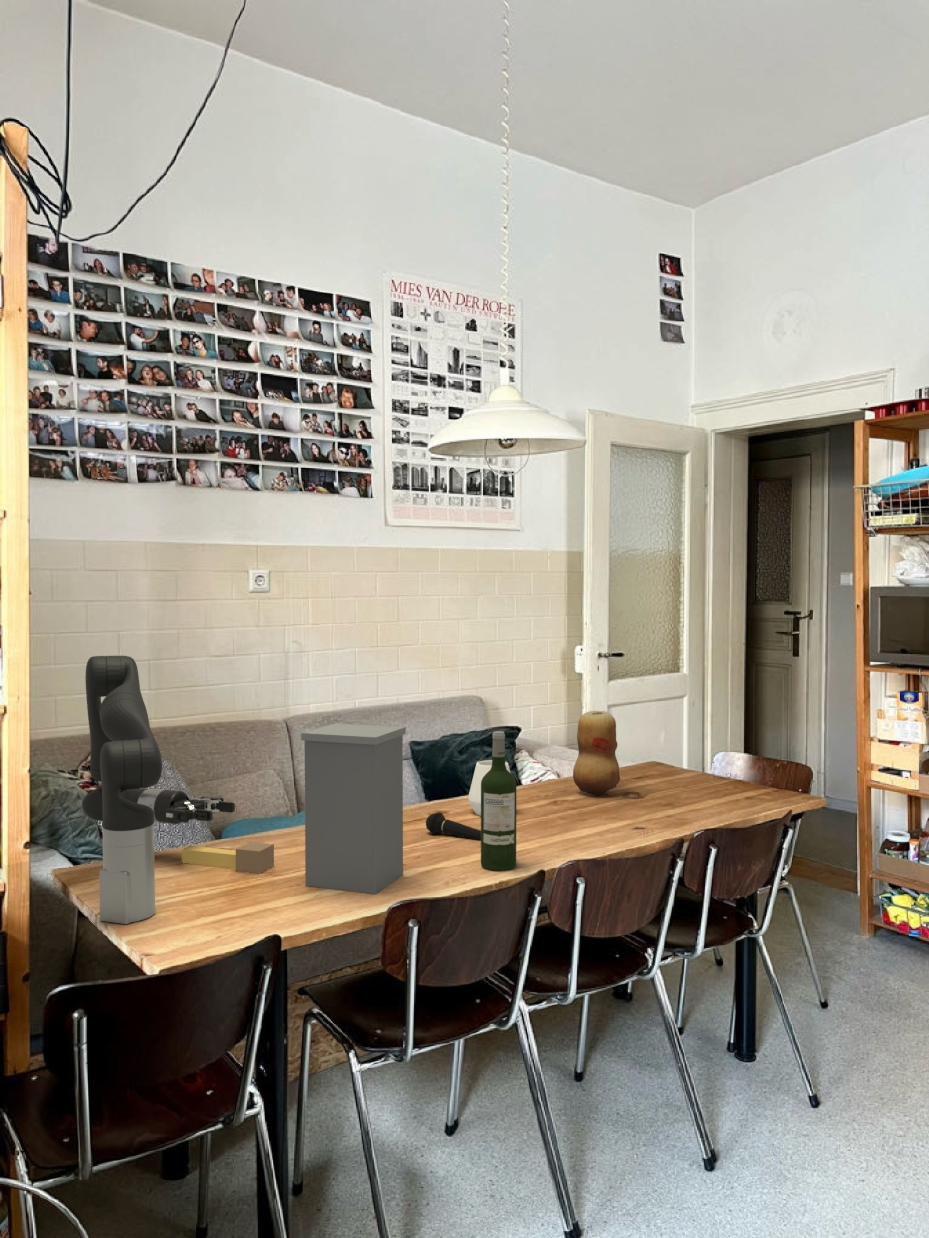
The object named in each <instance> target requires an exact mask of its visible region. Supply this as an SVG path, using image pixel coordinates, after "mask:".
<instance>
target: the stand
mask: <svg viewBox="0 0 929 1238" xmlns="http://www.w3.org/2000/svg"><path fill="white" fill-rule="evenodd" d="M406 730H407V729H406V726H394V725H393V726H390V725H389V726H388V725H373V724H357V723H355V724H352V723H331V724H328V725H326V726H321V727H318V728H315V729H312V730H308V731H304V732H301V734H300V740H301V741H304V853H305V854H304V856H305V858H304V859H305V861H304V863H305V864H304V865H305V867H304V868H305V869H304V870H305V873H304V874H305V875H304V876H305V887H310V888H311V887H313V888H319V889H320V888H321V889H329V890H337V891H346V892H353V893H354V892H355V893H361V894H362V893H363V894H370V895H376V894H378V893H379V892H380V891H382V890H383V889H385V888H386V887H388V886H389V885H391V884H392V883H394V882H395V881H396V880H397V878H398V879H399V878H400V877H402V876H403V875H404V805H403V804H404V799H403V797H404V795H403V794H404V792H403V790H404V787H403V786H404V785H403V783H404V779H403V778H404V776H403V775H404V774H403V769H404V768H403V767H404V766H403V762H404V761H403V760H404V759H403V757H404V756H403V753H404V752H403V751H404V750H403V748H404V747H403V742H404V739H403V738H404V735H406V734H407V733H406ZM381 889H382V890H381Z"/></svg>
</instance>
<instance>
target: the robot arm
mask: <svg viewBox="0 0 929 1238" xmlns="http://www.w3.org/2000/svg"><path fill="white" fill-rule="evenodd" d="M85 666H86V667H85V676H84V677H85V678H84V679H85V695H86V697H85V698H86V708H87V709H86V710H87V717H88V719H87V720H88V727H89V728H88V729H89V736H90V737H89V739H90V754H89V755H90V757H89V758H90V763H89V766H90V767H89V769H90V770H89V771H90V776H91V778H92V779H93V780H95V781H97V782H100V784H101V785H100V786H98V787H97V788H95V789H92V790H91V791H90V792H87V794H86V795H85V796H84V797H83V799H82V802H81V809H82V811H83V813H84V815H86V816H87V817H88V818H90V819H91V820H93V821H100V822H102V825H101V826H102V869H99V874H98V875H99V877H98V878H99V916H100V917H99V920H100V921H102V922H107V923H115V924H121V925H122V924H123V925H128V924H130V923H134V922H139V921H143V920H146V919H149V918H150V917H153V915H155V913H156V882H155V881H156V880H155V879H156V878H155V877H156V876H155V875H156V874H155V872H156V871H155V823H158V824H159V823H160V824H170V825H180V824H181V823H185V824H188V823H189V822H190V821H191V822H196V821H202V822H211V821H213V817H214V815H213V814H214V812H215V813H216V812H219V813H220V812H221V813H234V812H235V811H236V804H235V802H234V801H225V799H224V798H223V797H213V796H211V797H210V796H200V798H196V797H193V798H189V796H188V794H187V793H185V791H183V790H175V789H164V788H152V789H150V788H151V787H154V786H155V785H157V784H158V783H159V782H160V780H161V777H162V774H163V761H162V760H163V759H162V753H161V749H160V747H159V744H158V742H157V741H156V739H155V736H154V734H153V732H152V729H151V725H150V719H149V714H148V711H147V707H146V704H145V701H144V698H143V695H142V691H141V686H140V684H141V683H140V676H139V670H138V666H137V662H136V661H135V659H134V658H133V657H131V656H128V655H93V656H90V657H89V659H88V660H87V662H86V665H85ZM103 697H104V698H103ZM101 698H103V700H102V699H101Z"/></svg>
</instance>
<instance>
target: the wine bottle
mask: <svg viewBox="0 0 929 1238" xmlns="http://www.w3.org/2000/svg"><path fill="white" fill-rule="evenodd" d="M505 739H506V734H505V731H503V730H502V731H501V730H499V731H497V730H495V731H493V732H492V754H491V760H492V767H491V770H490V771H489V772H487V773H486V775H485V776H484V777H483V778H482V781H481V816H480V831H481V840H480V865H481V867H482V869H485V870H488V871H493V872H505V871H506V872H507V871H510V870H513V869H515V868H516V865H517V781H516V779H515V776H514V775H513V774H512V773H511V771H510V772H509V771H508V770H507V769H506V766H505V762H506V745H505V744H506V742H505Z"/></svg>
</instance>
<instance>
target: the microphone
mask: <svg viewBox="0 0 929 1238" xmlns="http://www.w3.org/2000/svg"><path fill="white" fill-rule="evenodd" d="M425 827H426V829H427V831H429V833H431V834H432V835H433V834H435V836H437V835H439V834H441V833H444V834H447V835H451V836H453V837H456V838H458V837H461V838H465V839H470V840H475V839H476V841H481V829H478V828H474V827H471V826H468V825H465V824H463V823H459V822H456V821H454V820H451V819H449V818H448V819H446V817H445V816H444V814H443V813H442V812H439V811H438V812H437V813H436V812H434V813H431V814H429V815H428V817H427V818H426V821H425Z"/></svg>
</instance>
